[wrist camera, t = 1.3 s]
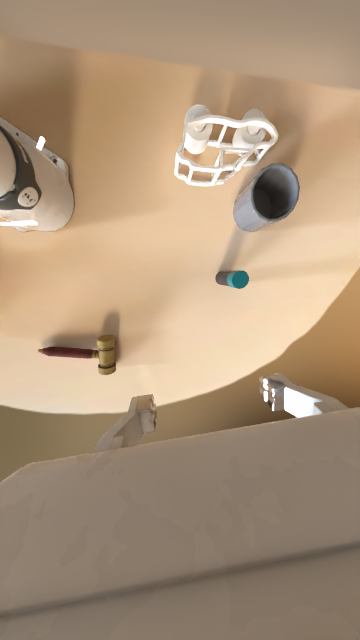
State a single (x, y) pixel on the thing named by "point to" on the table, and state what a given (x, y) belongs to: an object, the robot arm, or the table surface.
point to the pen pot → (267, 198)
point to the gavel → (90, 353)
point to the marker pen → (233, 279)
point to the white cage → (243, 142)
